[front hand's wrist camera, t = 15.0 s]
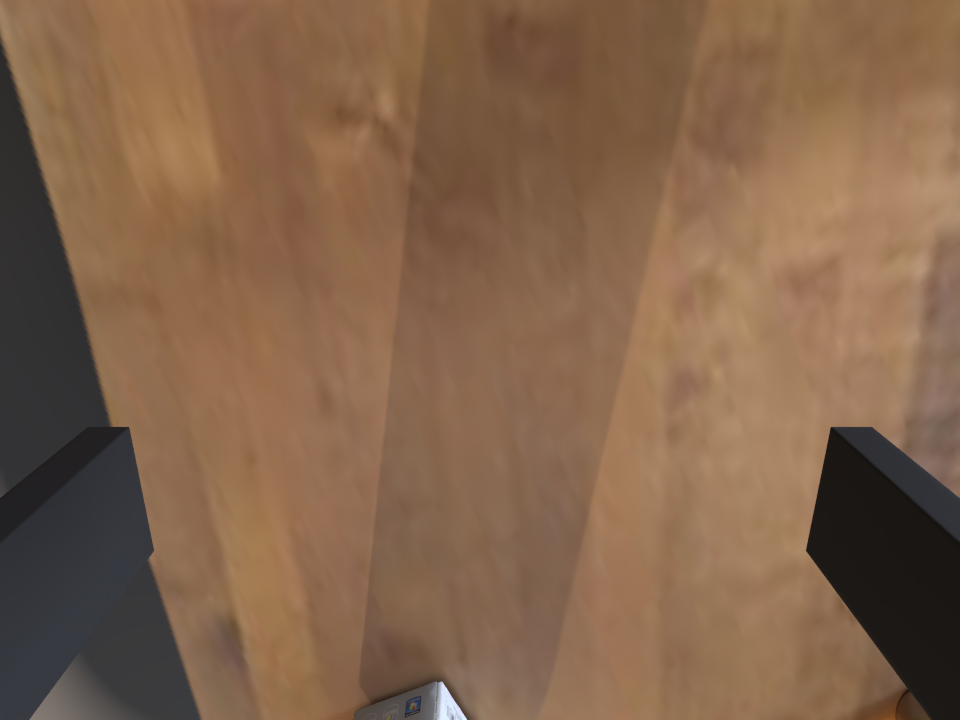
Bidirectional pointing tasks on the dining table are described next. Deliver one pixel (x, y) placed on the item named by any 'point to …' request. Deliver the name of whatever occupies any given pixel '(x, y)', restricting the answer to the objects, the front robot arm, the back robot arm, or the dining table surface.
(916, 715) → the can
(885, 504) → the front robot arm
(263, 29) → the dining table surface
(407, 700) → the hard drive box
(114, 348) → the dining table surface
